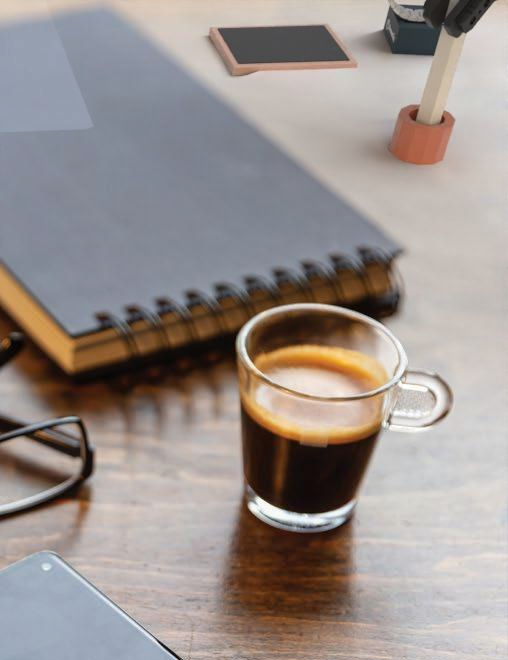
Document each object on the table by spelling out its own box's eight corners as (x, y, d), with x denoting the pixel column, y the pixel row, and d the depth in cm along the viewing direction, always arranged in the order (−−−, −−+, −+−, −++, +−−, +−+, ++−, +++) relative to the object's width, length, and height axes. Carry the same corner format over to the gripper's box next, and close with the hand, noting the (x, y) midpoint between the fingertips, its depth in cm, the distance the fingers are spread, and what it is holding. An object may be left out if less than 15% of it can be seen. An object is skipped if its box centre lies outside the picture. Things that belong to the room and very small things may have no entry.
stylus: (416, 150, 111) (470, -37, 101) (430, 157, 111) (485, -31, 100) (405, 154, 111) (458, -33, 100) (418, 161, 110) (473, -27, 99)
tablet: (325, 31, 132) (327, 22, 132) (355, 72, 126) (358, 62, 125) (208, 35, 132) (210, 25, 131) (232, 75, 125) (234, 66, 124)
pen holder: (426, 156, 113) (442, 103, 110) (446, 182, 110) (463, 128, 107) (376, 158, 113) (391, 105, 110) (394, 184, 110) (410, 130, 107)
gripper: (504, -221, 100) (355, -28, 104) (668, -175, 92) (500, 33, 95) (527, -160, 106) (385, 21, 109) (683, -112, 97) (524, 83, 100)
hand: (439, 26), depth 102 cm, fingers closed on stylus, 1 cm apart
